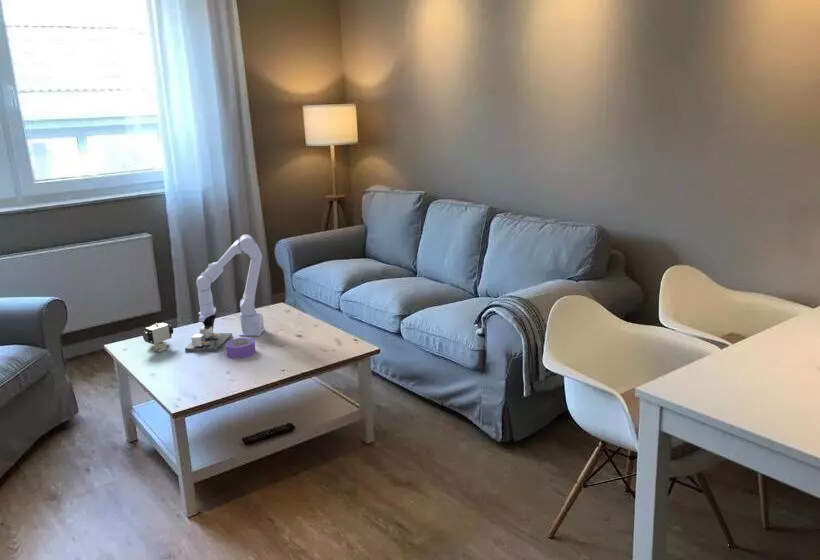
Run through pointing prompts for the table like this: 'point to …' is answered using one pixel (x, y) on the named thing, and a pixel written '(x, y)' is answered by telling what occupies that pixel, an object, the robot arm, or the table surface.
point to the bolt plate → (207, 342)
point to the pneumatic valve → (158, 335)
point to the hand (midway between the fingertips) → (210, 332)
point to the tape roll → (240, 347)
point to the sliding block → (207, 331)
